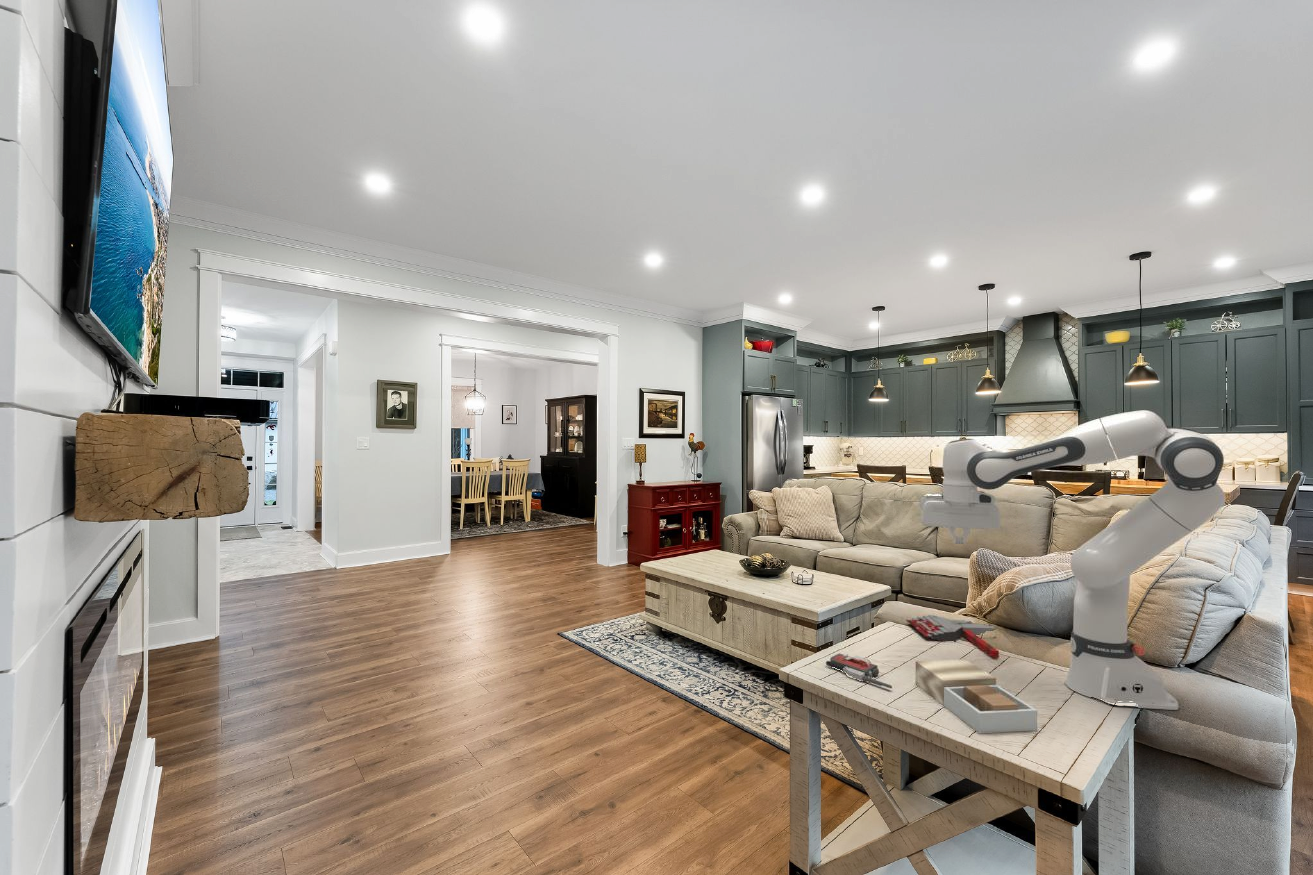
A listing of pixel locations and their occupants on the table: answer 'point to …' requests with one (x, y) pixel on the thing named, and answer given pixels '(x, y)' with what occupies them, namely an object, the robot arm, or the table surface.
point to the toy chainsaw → (856, 668)
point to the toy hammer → (953, 631)
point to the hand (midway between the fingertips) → (959, 543)
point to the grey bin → (991, 713)
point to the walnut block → (987, 699)
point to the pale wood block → (949, 676)
